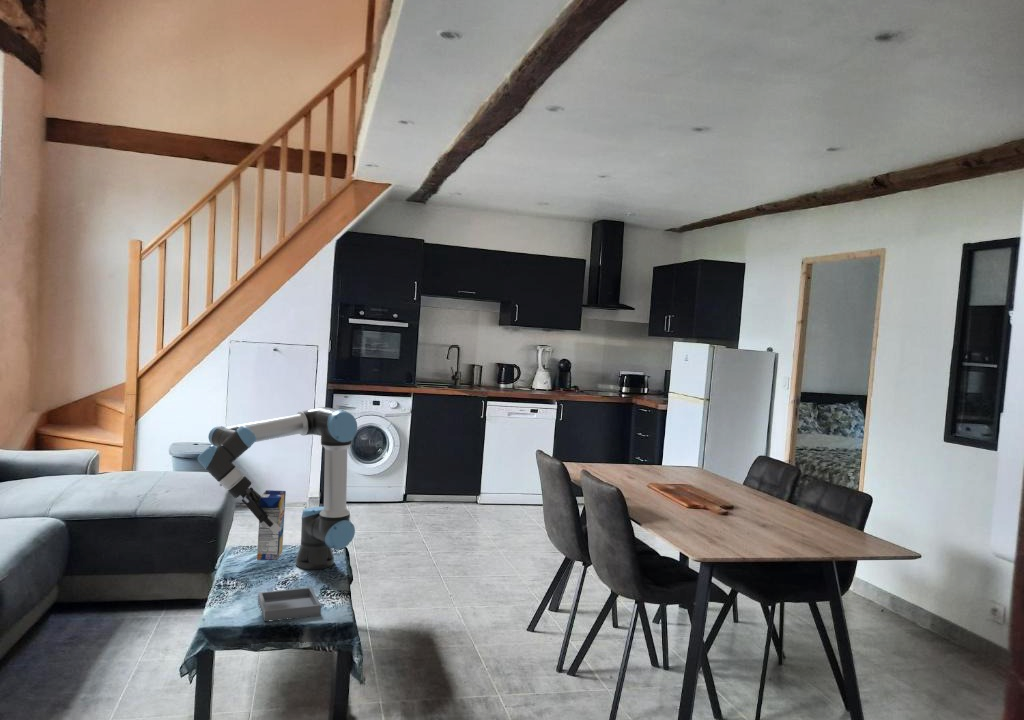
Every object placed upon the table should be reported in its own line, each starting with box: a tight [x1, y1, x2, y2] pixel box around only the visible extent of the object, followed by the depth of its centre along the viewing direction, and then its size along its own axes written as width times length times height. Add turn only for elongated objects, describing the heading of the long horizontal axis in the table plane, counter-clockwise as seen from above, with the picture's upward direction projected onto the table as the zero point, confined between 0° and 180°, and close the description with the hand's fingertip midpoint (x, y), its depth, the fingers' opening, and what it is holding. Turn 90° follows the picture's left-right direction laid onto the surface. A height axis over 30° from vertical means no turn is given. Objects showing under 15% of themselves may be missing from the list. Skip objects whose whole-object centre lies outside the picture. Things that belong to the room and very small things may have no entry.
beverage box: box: [256, 489, 286, 562], centre depth 258 cm, size 7×11×22 cm, turn 9°
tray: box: [257, 586, 322, 621], centre depth 249 cm, size 18×18×4 cm
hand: (279, 527), depth 258 cm, fingers closed on beverage box, 11 cm apart
